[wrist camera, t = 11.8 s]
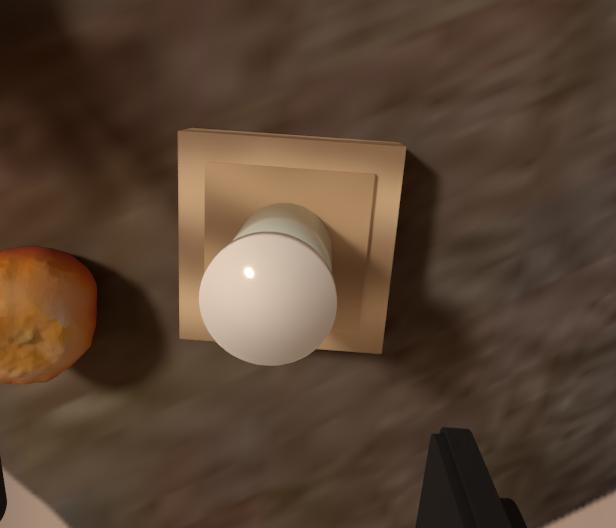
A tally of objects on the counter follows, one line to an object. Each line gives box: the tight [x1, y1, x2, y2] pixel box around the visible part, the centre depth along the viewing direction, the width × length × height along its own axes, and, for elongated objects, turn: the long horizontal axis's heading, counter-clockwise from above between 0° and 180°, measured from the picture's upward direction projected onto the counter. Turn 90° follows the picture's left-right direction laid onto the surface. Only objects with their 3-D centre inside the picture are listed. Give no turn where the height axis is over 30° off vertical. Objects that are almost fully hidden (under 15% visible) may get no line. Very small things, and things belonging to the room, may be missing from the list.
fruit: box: [0, 246, 97, 384], centre depth 31 cm, size 8×8×8 cm
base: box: [178, 128, 406, 354], centre depth 30 cm, size 12×12×3 cm
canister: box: [199, 203, 337, 366], centre depth 25 cm, size 6×6×8 cm
